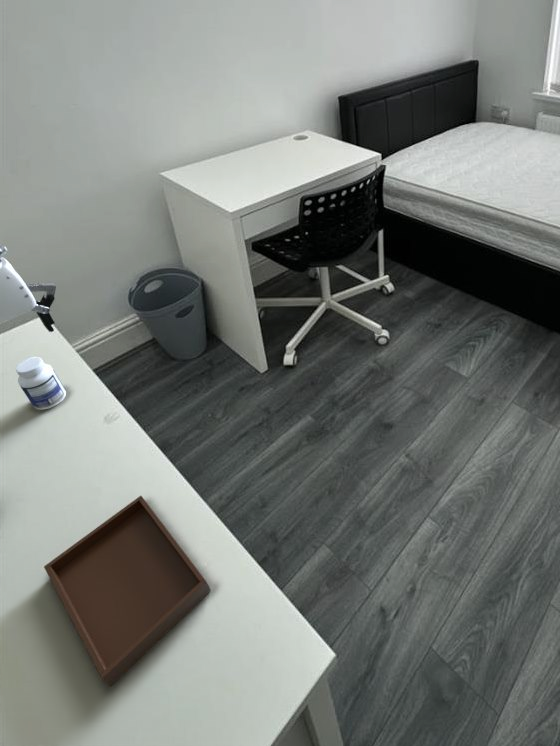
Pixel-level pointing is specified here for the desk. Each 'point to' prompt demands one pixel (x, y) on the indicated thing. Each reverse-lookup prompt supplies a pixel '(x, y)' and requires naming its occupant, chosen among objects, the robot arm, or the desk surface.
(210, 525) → the desk surface
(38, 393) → the pill bottle
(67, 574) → the tray
